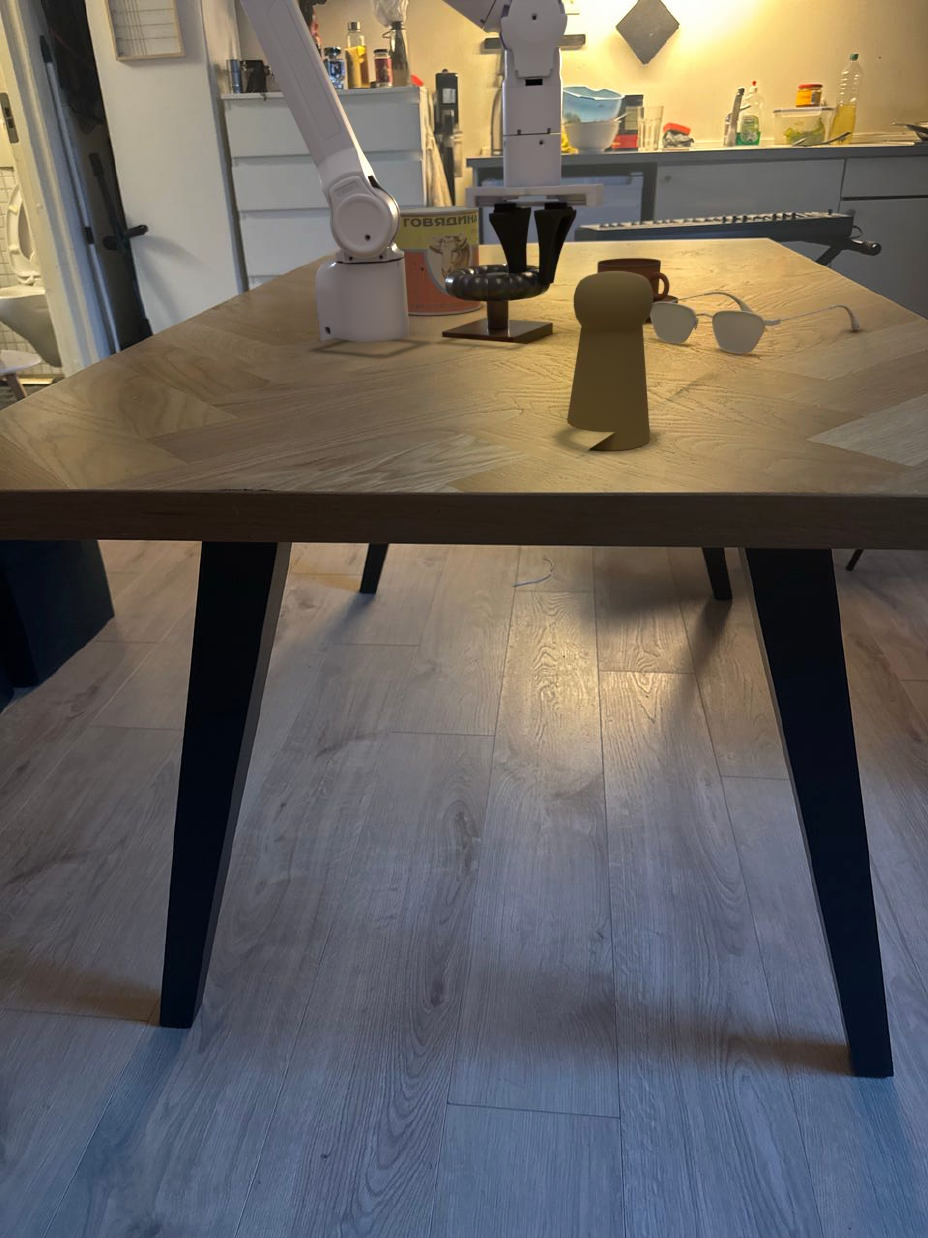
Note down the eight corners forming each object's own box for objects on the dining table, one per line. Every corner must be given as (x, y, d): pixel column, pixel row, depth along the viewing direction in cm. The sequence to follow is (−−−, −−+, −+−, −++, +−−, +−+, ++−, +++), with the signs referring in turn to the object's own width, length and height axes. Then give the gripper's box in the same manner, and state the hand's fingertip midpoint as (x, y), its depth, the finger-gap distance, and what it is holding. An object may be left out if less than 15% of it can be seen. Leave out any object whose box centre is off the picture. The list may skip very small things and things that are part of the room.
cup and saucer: (691, 311, 105) (696, 256, 102) (655, 328, 96) (658, 269, 93) (601, 306, 110) (603, 254, 107) (559, 322, 102) (560, 266, 99)
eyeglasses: (641, 338, 91) (643, 299, 89) (743, 315, 101) (747, 279, 99) (766, 359, 80) (771, 314, 78) (867, 330, 90) (875, 290, 88)
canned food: (415, 318, 108) (409, 213, 102) (385, 307, 117) (377, 210, 111) (495, 309, 112) (493, 207, 106) (460, 298, 121) (456, 204, 115)
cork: (557, 428, 63) (559, 269, 58) (637, 423, 64) (647, 264, 58) (573, 453, 58) (577, 280, 53) (660, 447, 58) (673, 275, 53)
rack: (442, 342, 94) (438, 277, 90) (484, 328, 100) (482, 266, 97) (513, 348, 89) (512, 280, 86) (553, 333, 96) (553, 269, 92)
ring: (426, 300, 91) (424, 274, 89) (477, 285, 99) (477, 261, 98) (520, 305, 86) (520, 277, 84) (566, 289, 94) (566, 263, 93)
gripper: (447, 139, 84) (453, 286, 90) (584, 131, 77) (581, 291, 83) (482, 138, 89) (486, 277, 95) (613, 131, 82) (608, 281, 89)
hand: (532, 283), depth 90 cm, fingers closed on ring, 3 cm apart
